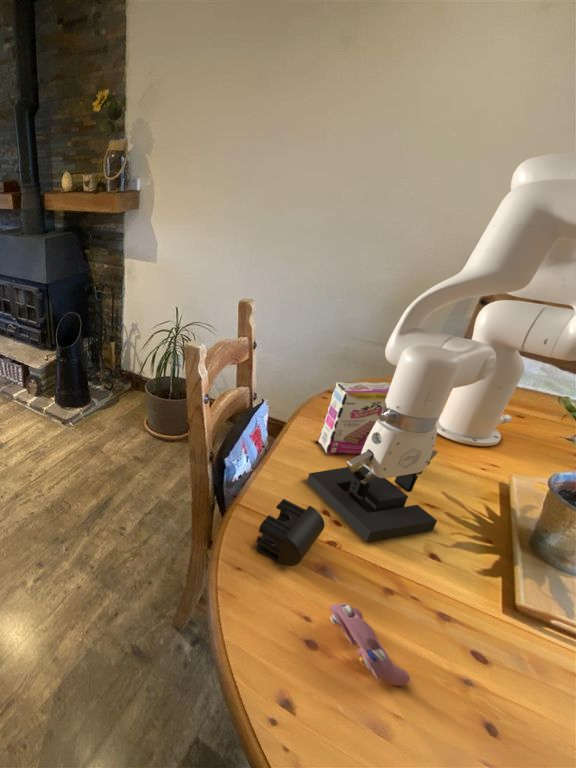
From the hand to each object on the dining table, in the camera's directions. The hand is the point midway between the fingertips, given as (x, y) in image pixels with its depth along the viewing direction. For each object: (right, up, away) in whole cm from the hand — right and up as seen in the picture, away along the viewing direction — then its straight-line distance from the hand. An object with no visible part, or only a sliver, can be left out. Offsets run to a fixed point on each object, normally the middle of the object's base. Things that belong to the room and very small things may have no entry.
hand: (379, 491), depth 80 cm
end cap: (-21, -8, -6) cm, 24 cm away
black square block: (0, -3, +1) cm, 3 cm away
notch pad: (-2, -3, +1) cm, 4 cm away
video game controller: (-20, -17, -22) cm, 34 cm away
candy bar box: (+5, +5, +16) cm, 18 cm away
